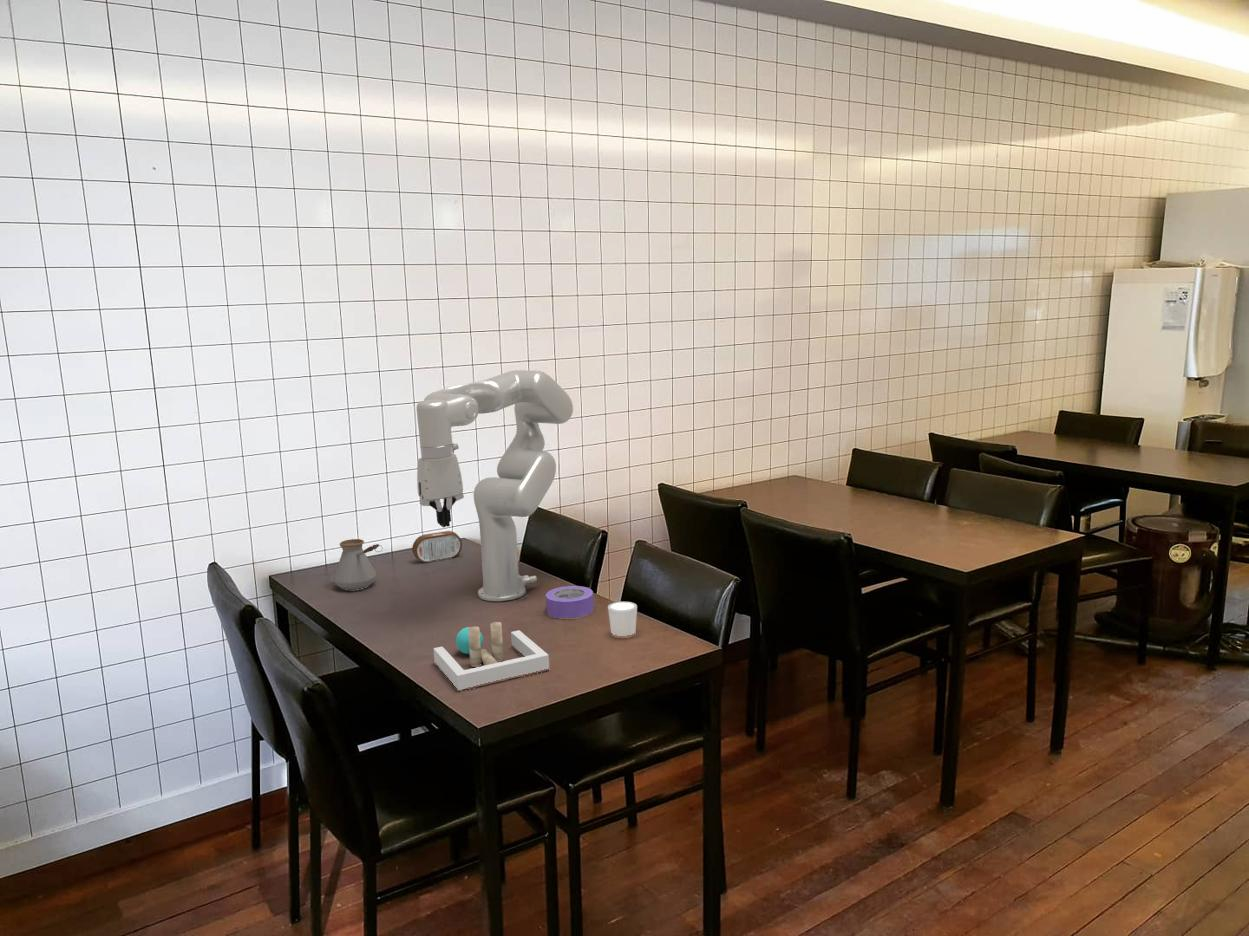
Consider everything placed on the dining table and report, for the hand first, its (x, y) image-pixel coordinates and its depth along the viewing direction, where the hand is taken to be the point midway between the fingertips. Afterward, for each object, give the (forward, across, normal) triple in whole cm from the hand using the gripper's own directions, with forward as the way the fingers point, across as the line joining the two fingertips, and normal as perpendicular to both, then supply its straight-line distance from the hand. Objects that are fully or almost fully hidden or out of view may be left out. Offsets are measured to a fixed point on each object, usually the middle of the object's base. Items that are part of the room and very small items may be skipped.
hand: (444, 525), depth 225 cm
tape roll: (+25, -26, +12) cm, 38 cm away
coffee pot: (+25, +13, -36) cm, 45 cm away
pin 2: (+23, +1, +31) cm, 39 cm away
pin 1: (+23, +6, +31) cm, 39 cm away
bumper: (+23, +4, +33) cm, 40 cm away
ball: (+20, +5, +23) cm, 31 cm away
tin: (+26, -14, -51) cm, 59 cm away
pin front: (+22, +4, +28) cm, 36 cm away
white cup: (+25, -29, +33) cm, 51 cm away
